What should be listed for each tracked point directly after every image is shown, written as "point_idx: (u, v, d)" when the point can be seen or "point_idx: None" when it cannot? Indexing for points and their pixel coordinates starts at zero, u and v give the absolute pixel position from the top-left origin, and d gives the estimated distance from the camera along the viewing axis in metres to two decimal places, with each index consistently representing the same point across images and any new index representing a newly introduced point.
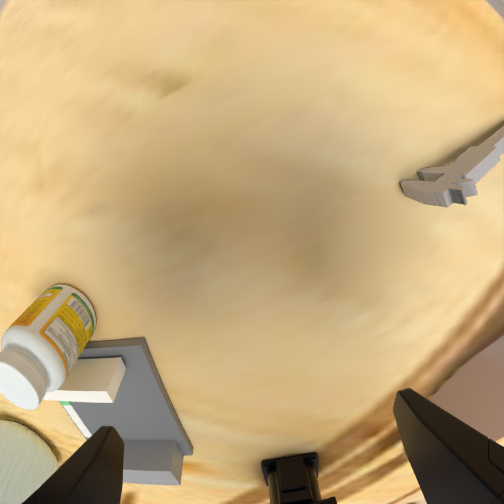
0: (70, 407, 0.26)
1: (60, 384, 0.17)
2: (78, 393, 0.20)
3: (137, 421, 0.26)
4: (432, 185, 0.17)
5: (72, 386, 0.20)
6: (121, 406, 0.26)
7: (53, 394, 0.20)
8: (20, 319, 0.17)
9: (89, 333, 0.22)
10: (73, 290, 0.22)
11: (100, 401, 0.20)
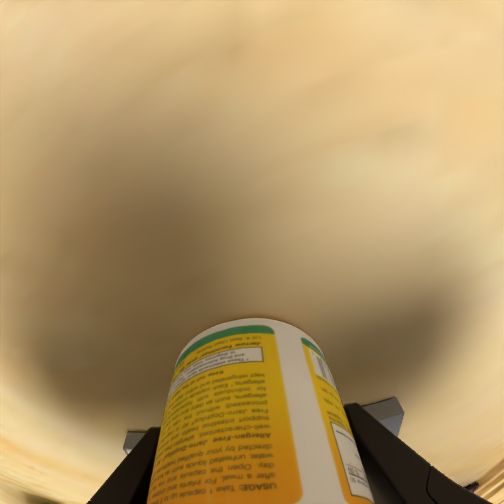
0: None
1: None
2: None
3: None
4: None
5: None
6: None
7: None
8: (233, 474, 0.05)
9: None
10: (297, 331, 0.10)
11: None
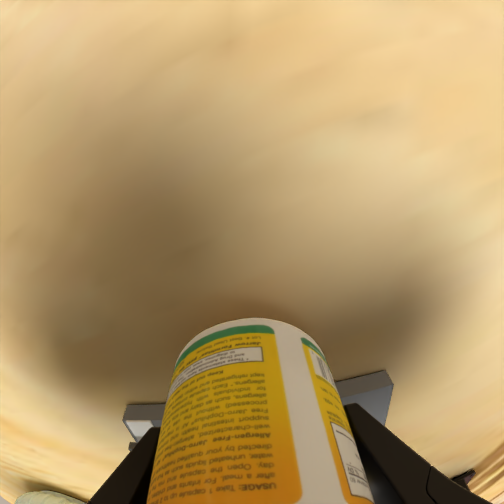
0: None
1: None
2: None
3: None
4: None
5: None
6: None
7: None
8: (233, 474, 0.05)
9: None
10: (297, 331, 0.10)
11: None
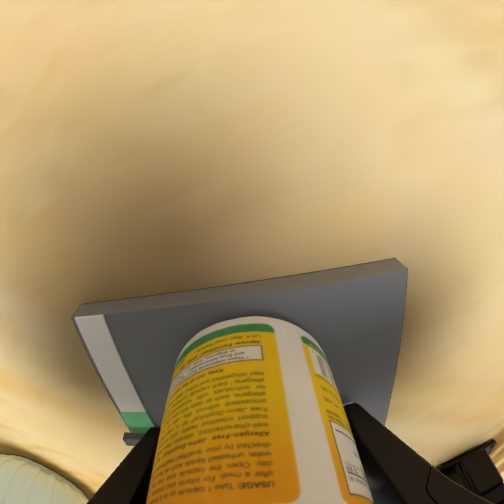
0: None
1: None
2: None
3: None
4: None
5: None
6: None
7: None
8: (231, 472, 0.05)
9: None
10: (297, 329, 0.10)
11: None
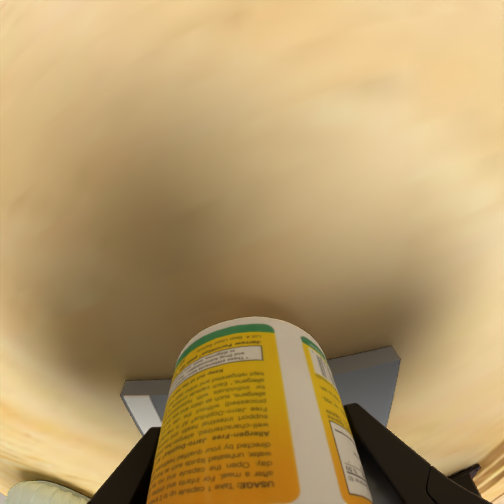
0: None
1: None
2: None
3: None
4: None
5: None
6: None
7: None
8: (231, 472, 0.05)
9: None
10: (297, 329, 0.10)
11: None
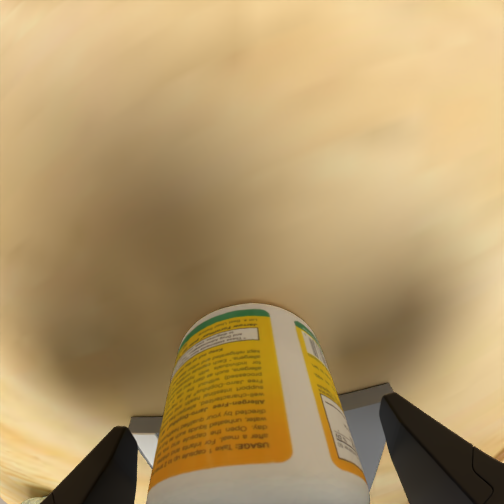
0: None
1: None
2: None
3: None
4: None
5: None
6: None
7: None
8: (230, 435, 0.06)
9: None
10: (291, 315, 0.11)
11: None
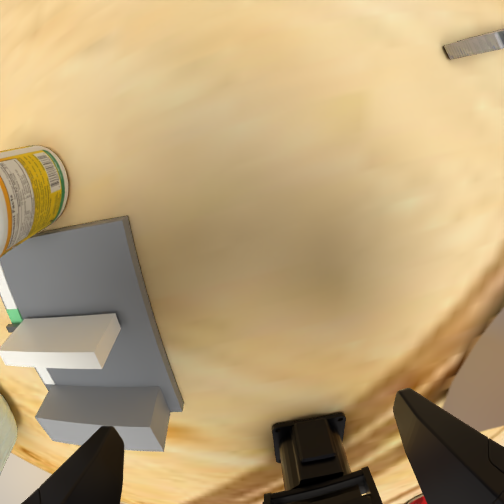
0: None
1: None
2: (58, 356, 0.15)
3: (109, 355, 0.20)
4: (480, 35, 0.11)
5: (51, 347, 0.15)
6: None
7: (26, 358, 0.15)
8: None
9: (55, 201, 0.15)
10: (46, 148, 0.15)
11: (85, 366, 0.15)
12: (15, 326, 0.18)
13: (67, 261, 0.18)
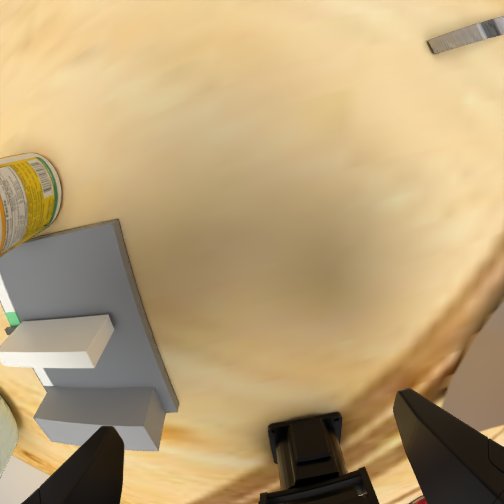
0: None
1: None
2: (52, 355, 0.15)
3: (104, 356, 0.21)
4: None
5: (46, 347, 0.16)
6: None
7: (23, 358, 0.15)
8: None
9: (48, 206, 0.16)
10: (39, 156, 0.16)
11: (78, 365, 0.16)
12: (13, 328, 0.19)
13: (61, 264, 0.18)
